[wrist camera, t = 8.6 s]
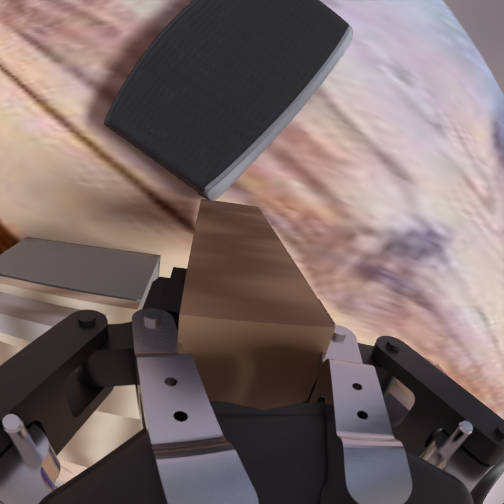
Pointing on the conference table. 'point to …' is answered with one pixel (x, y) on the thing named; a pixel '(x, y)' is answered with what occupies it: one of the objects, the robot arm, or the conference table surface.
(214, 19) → the external hard drive
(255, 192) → the conference table surface
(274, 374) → the brown block
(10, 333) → the lid
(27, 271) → the toolbox
